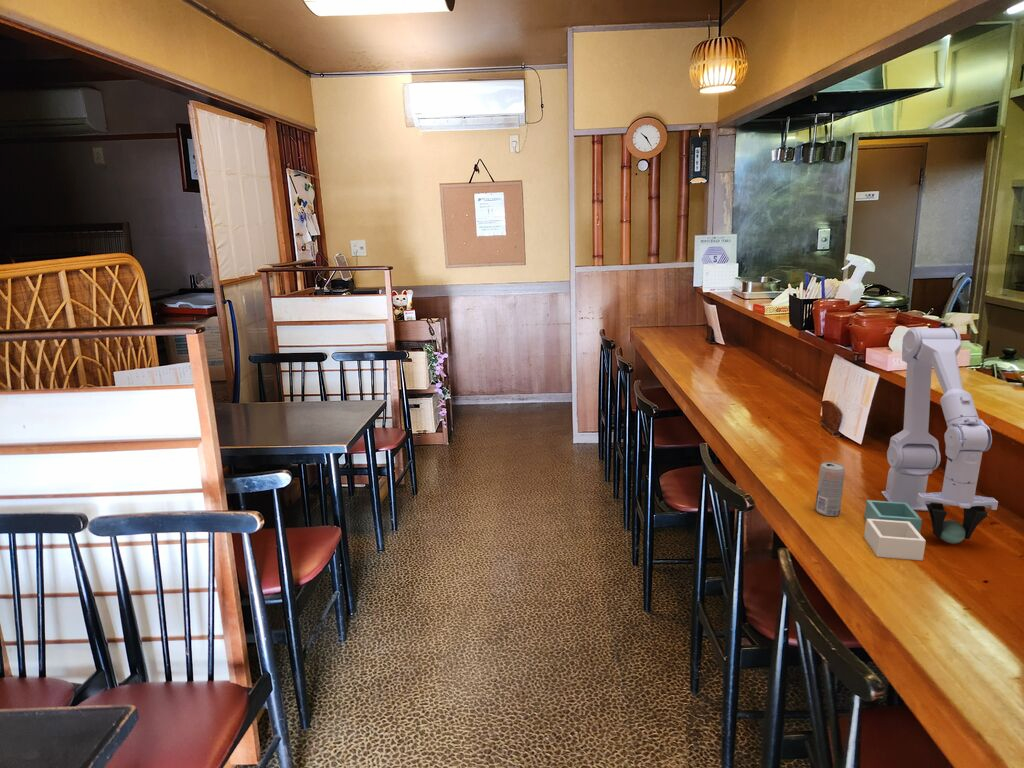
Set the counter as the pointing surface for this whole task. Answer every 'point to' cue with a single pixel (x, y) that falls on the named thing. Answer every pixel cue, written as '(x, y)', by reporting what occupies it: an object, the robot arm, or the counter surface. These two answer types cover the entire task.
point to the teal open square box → (892, 512)
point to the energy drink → (830, 489)
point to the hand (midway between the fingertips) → (950, 536)
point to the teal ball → (952, 531)
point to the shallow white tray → (894, 539)
